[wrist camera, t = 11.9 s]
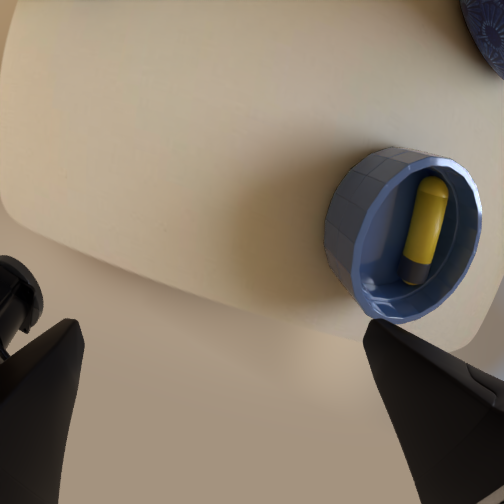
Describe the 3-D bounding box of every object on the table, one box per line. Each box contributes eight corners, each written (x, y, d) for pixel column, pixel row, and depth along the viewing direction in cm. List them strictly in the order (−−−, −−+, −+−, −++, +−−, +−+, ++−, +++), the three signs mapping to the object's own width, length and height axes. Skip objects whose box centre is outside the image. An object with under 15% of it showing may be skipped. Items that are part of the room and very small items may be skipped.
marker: (388, 277, 22) (409, 274, 23) (408, 293, 20) (429, 289, 21) (413, 170, 19) (433, 175, 20) (439, 178, 16) (458, 183, 17)
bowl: (386, 308, 25) (414, 341, 20) (288, 249, 21) (311, 285, 16) (459, 205, 22) (497, 224, 17) (382, 113, 17) (428, 115, 13)
